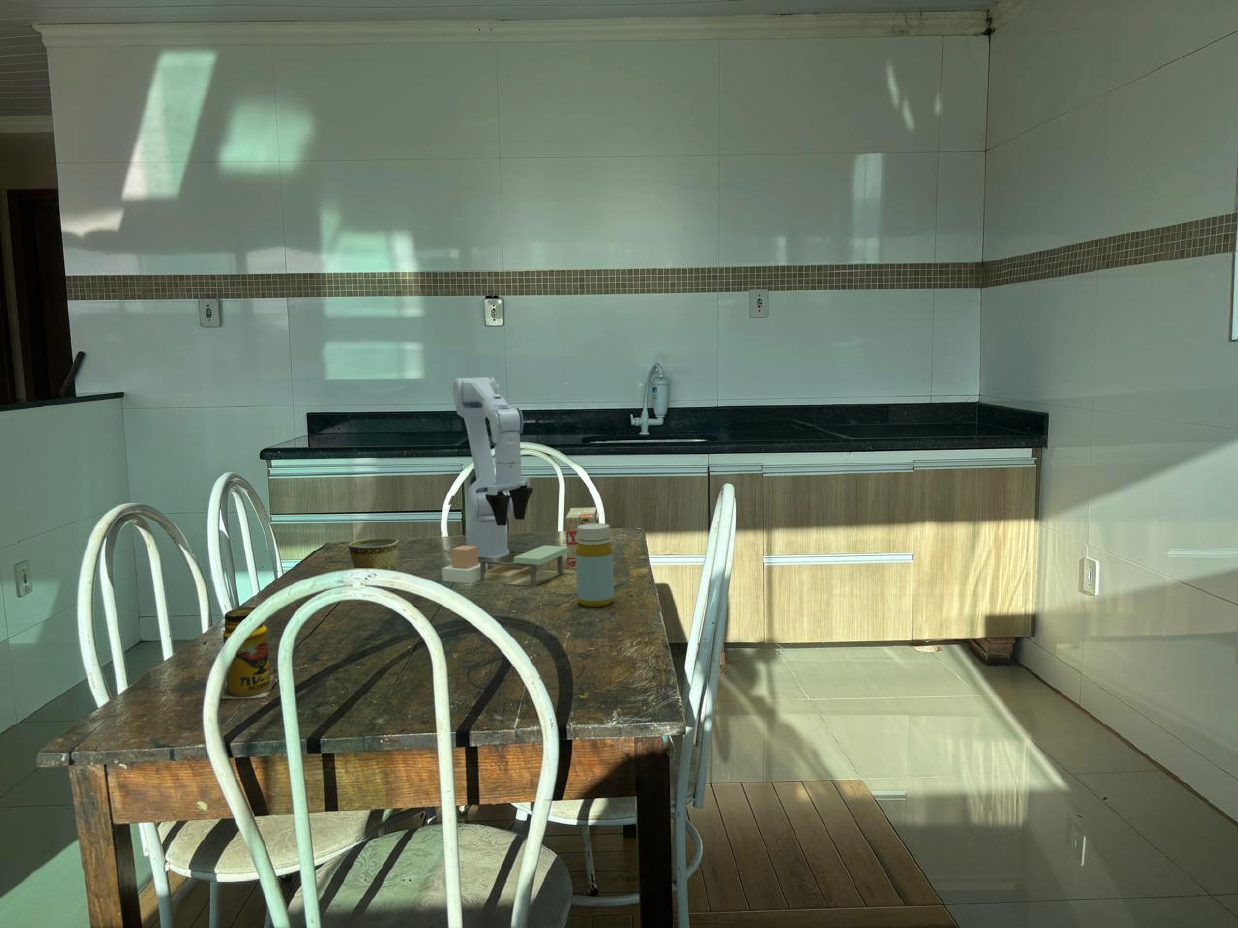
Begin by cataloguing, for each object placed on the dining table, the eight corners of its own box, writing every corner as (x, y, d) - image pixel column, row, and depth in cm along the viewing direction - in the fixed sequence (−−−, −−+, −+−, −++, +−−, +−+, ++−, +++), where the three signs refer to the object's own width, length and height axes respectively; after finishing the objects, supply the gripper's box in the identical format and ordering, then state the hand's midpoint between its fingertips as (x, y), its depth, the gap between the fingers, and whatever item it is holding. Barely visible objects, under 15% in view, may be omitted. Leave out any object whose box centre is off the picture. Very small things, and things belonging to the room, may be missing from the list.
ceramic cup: (407, 590, 196) (404, 542, 195) (359, 597, 191) (356, 549, 190) (387, 578, 207) (384, 533, 206) (341, 585, 202) (338, 539, 201)
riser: (442, 582, 202) (441, 568, 202) (461, 574, 208) (460, 561, 208) (469, 584, 199) (469, 570, 199) (488, 577, 205) (487, 563, 205)
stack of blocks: (575, 551, 231) (573, 501, 229) (600, 550, 231) (599, 500, 229) (567, 571, 210) (565, 516, 208) (595, 570, 209) (593, 516, 208)
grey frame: (479, 582, 201) (478, 561, 201) (512, 568, 213) (511, 548, 212) (533, 587, 195) (532, 565, 195) (564, 573, 207) (563, 552, 206)
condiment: (266, 697, 136) (259, 616, 134) (205, 700, 135) (198, 619, 134) (280, 680, 143) (274, 602, 141) (222, 683, 142) (216, 605, 141)
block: (452, 567, 202) (451, 549, 202) (463, 563, 206) (462, 545, 206) (467, 568, 201) (466, 550, 200) (478, 564, 204) (477, 546, 204)
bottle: (604, 596, 186) (602, 521, 185) (620, 604, 180) (617, 526, 178) (572, 601, 183) (569, 525, 182) (586, 609, 177) (583, 530, 175)
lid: (513, 562, 197) (513, 557, 197) (544, 550, 208) (544, 545, 208) (539, 564, 194) (539, 559, 194) (568, 552, 205) (568, 547, 205)
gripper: (505, 466, 203) (508, 528, 205) (540, 459, 216) (542, 517, 218) (478, 466, 206) (481, 527, 208) (513, 458, 219) (516, 516, 221)
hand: (510, 522), depth 213 cm, fingers open, 7 cm apart
